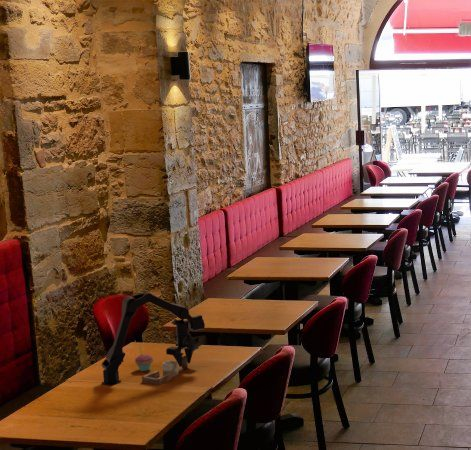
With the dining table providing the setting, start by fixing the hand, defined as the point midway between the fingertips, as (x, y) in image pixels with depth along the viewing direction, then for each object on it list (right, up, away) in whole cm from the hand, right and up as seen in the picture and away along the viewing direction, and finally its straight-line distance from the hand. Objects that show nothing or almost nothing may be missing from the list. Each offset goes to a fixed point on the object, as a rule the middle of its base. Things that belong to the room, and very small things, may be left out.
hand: (184, 364), depth 407 cm
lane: (-11, -5, -14) cm, 19 cm away
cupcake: (-19, -3, +3) cm, 20 cm away
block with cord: (-3, -3, -4) cm, 6 cm away
